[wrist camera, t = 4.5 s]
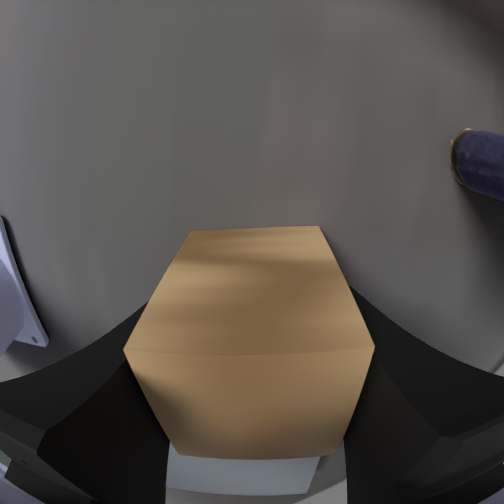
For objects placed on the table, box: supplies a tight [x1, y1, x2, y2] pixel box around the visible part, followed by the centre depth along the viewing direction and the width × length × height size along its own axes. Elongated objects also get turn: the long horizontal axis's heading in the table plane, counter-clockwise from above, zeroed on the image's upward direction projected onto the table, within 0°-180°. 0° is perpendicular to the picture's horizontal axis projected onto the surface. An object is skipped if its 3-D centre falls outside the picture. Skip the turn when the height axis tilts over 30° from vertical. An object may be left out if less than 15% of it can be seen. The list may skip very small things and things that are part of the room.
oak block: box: [123, 226, 375, 460], centre depth 8 cm, size 4×4×6 cm
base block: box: [166, 442, 321, 495], centre depth 14 cm, size 12×12×3 cm
